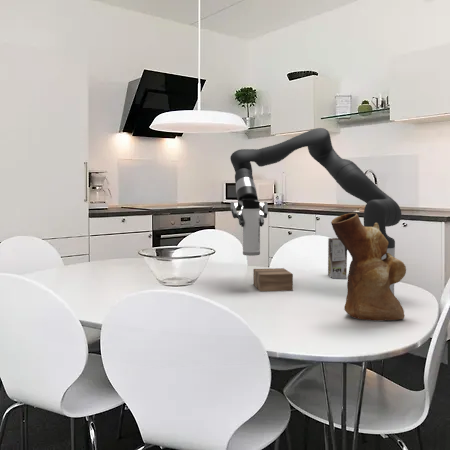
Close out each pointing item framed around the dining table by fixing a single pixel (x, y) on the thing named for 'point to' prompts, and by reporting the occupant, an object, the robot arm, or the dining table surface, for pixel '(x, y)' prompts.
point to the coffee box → (337, 258)
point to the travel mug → (251, 228)
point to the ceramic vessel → (369, 271)
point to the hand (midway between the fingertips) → (252, 225)
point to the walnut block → (273, 279)
